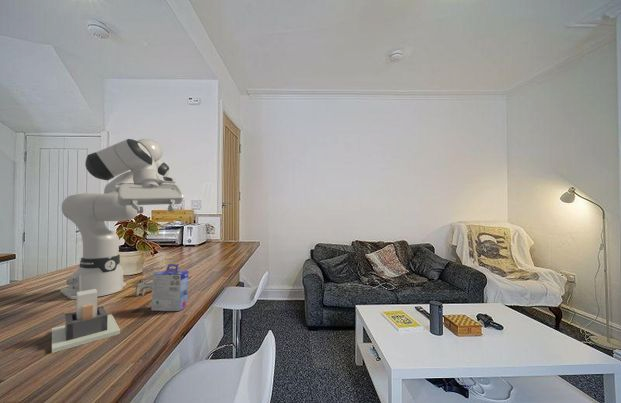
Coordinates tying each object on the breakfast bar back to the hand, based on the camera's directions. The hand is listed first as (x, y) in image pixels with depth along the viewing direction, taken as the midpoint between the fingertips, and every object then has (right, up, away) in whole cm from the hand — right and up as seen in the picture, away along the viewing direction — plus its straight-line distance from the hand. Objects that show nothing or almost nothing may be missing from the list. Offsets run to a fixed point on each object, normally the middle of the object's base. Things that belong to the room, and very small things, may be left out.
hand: (156, 211), depth 89 cm
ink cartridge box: (+6, -33, -2) cm, 34 cm away
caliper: (-7, -33, +16) cm, 38 cm away
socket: (-8, -32, -19) cm, 38 cm away
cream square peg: (-7, -31, -19) cm, 38 cm away
